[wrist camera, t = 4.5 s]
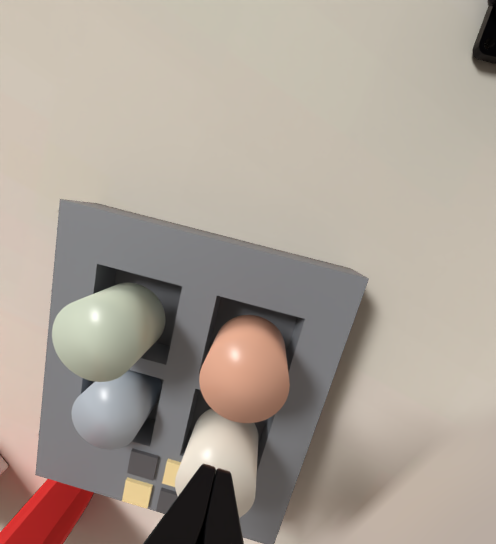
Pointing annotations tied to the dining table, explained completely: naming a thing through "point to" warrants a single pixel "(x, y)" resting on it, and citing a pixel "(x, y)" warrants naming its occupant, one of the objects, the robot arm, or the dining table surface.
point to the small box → (2, 465)
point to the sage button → (108, 331)
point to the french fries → (47, 515)
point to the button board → (192, 351)
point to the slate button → (115, 409)
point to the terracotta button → (246, 370)
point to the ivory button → (223, 455)
